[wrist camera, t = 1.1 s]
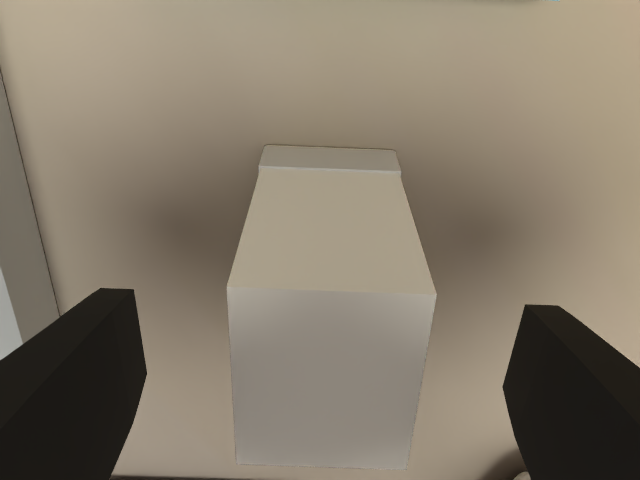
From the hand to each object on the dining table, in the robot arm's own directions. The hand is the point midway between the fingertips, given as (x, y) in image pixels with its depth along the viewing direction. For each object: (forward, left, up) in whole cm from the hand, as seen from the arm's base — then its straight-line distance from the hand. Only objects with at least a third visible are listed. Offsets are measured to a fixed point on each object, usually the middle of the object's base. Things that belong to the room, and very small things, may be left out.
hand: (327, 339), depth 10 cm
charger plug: (0, 0, -5) cm, 5 cm away
